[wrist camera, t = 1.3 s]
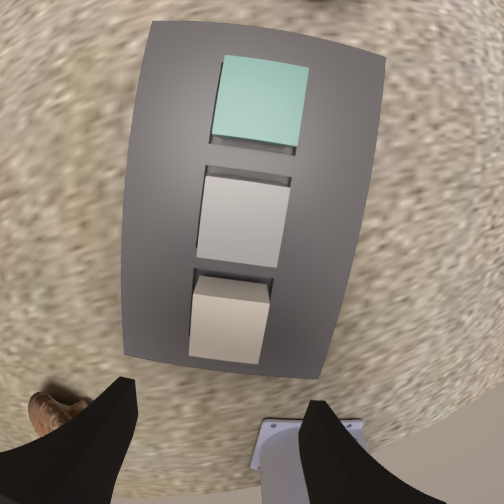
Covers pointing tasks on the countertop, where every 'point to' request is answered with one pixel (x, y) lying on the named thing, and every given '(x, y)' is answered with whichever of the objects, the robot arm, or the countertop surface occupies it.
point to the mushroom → (51, 412)
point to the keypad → (250, 166)
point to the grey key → (242, 219)
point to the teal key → (260, 101)
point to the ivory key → (228, 319)
